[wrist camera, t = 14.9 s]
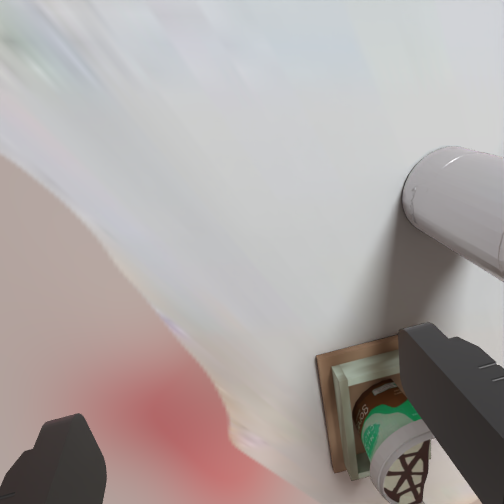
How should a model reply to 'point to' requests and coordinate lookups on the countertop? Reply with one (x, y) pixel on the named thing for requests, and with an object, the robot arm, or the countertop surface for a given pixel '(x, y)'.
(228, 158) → the countertop surface
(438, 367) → the robot arm
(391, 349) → the holder
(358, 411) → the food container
